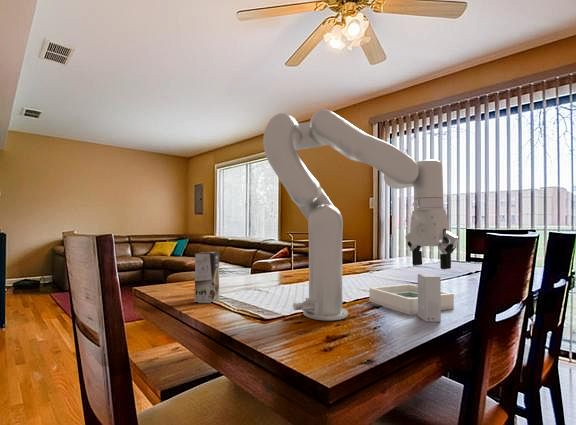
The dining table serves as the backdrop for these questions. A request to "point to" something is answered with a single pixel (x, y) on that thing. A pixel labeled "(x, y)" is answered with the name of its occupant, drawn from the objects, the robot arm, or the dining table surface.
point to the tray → (404, 298)
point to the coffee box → (206, 277)
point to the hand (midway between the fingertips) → (430, 266)
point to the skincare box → (429, 297)
